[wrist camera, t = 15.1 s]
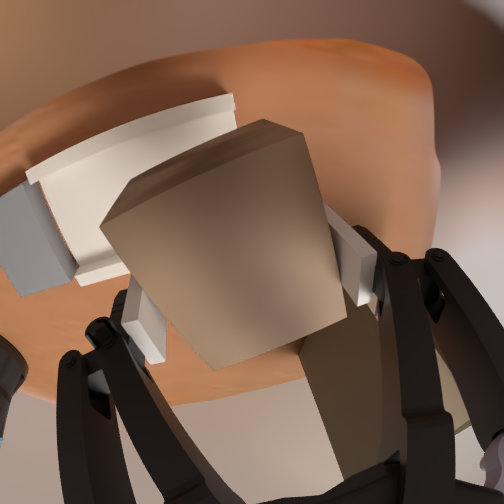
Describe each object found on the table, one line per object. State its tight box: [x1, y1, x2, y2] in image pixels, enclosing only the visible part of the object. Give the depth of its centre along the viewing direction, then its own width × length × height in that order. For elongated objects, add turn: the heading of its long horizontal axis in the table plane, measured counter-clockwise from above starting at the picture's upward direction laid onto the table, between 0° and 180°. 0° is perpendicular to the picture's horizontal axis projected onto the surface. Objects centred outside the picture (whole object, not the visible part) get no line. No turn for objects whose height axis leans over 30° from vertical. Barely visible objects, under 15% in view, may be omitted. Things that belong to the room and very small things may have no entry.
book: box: [298, 284, 471, 480], centre depth 32 cm, size 22×9×28 cm, turn 176°
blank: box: [99, 119, 347, 371], centre depth 14 cm, size 8×10×6 cm
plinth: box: [0, 179, 78, 297], centre depth 25 cm, size 10×13×3 cm
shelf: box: [25, 93, 237, 287], centre depth 26 cm, size 22×15×3 cm
